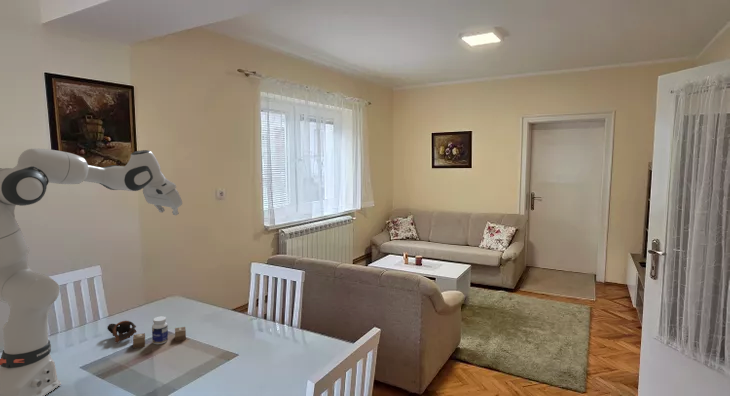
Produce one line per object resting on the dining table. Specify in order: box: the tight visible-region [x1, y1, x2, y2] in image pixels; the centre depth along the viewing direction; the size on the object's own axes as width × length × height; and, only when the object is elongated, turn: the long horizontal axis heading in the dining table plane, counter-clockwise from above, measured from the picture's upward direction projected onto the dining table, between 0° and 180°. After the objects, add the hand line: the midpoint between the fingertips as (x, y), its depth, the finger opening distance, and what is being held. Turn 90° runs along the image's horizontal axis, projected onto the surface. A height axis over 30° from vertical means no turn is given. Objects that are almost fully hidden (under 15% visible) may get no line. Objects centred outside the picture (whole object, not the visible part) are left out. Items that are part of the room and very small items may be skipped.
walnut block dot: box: [132, 332, 146, 349], centre depth 161 cm, size 4×4×4 cm
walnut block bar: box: [174, 326, 187, 342], centre depth 168 cm, size 4×4×4 cm
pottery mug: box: [107, 320, 137, 344], centre depth 166 cm, size 12×10×8 cm
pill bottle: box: [151, 315, 169, 345], centre depth 164 cm, size 6×6×10 cm
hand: (169, 213), depth 176 cm, fingers open, 8 cm apart
